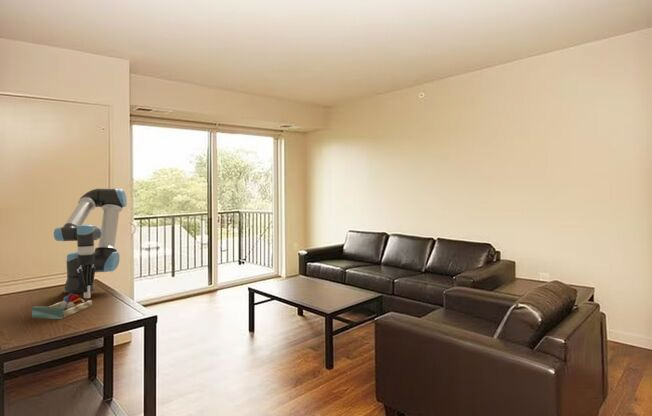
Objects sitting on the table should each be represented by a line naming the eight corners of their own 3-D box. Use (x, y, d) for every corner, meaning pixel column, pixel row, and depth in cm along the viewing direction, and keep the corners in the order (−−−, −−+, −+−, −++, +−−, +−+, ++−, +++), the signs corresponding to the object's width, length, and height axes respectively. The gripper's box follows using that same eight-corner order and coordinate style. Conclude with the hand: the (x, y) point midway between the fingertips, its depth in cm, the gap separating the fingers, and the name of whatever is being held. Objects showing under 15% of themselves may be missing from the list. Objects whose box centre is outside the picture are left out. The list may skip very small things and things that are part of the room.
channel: (66, 304, 200) (66, 294, 200) (92, 305, 199) (91, 295, 198) (32, 318, 179) (31, 307, 179) (60, 319, 178) (60, 308, 177)
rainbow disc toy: (73, 311, 189) (72, 296, 189) (56, 309, 191) (56, 295, 191) (87, 306, 198) (86, 292, 197) (71, 304, 200) (70, 291, 199)
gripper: (87, 251, 211) (89, 294, 212) (70, 255, 198) (71, 301, 199) (100, 252, 210) (101, 294, 211) (83, 256, 197) (85, 301, 198)
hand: (87, 297), depth 205 cm, fingers closed
